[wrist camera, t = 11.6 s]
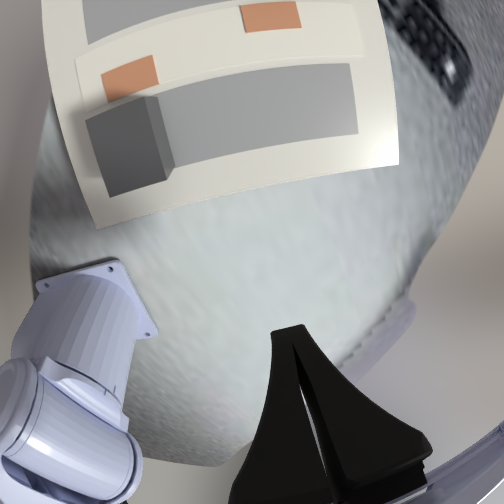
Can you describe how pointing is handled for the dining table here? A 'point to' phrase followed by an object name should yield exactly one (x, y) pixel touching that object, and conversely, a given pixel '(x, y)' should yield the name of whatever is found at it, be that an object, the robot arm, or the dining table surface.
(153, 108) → the dark grey block
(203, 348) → the dining table surface
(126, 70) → the switch panel
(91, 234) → the dining table surface
